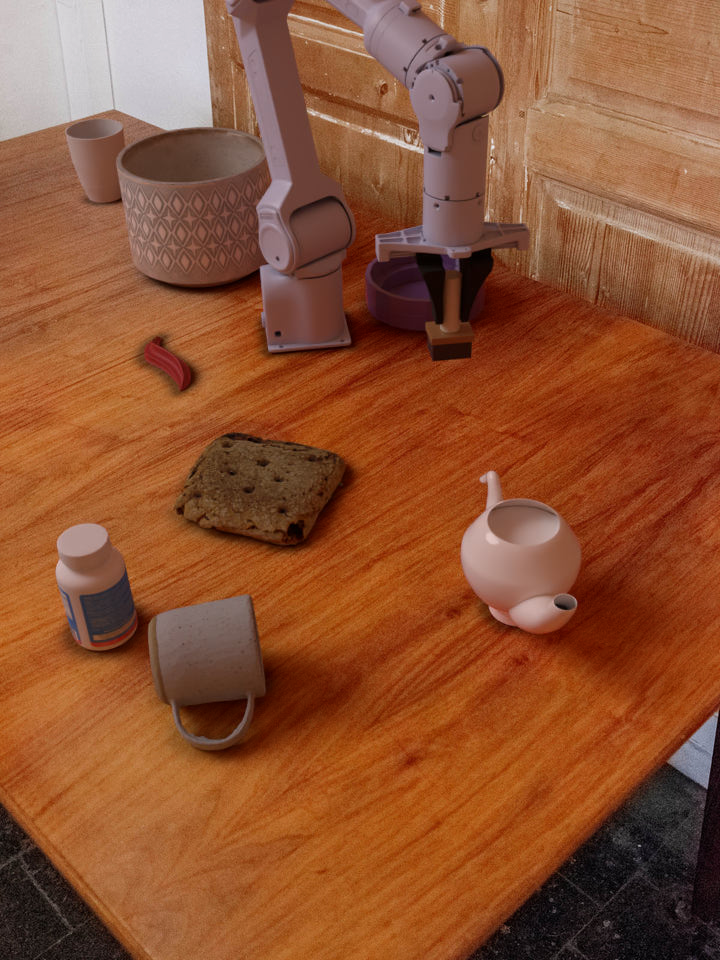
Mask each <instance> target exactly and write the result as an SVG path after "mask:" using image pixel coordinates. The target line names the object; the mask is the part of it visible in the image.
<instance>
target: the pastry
mask: <svg viewBox="0 0 720 960" xmlns="http://www.w3.org/2000/svg"><path fill="white" fill-rule="evenodd" d="M345 471H346V462H345V461H344V460H343V459H342V458H341V456H340V455H339V454H338V453H336V452H332V451H331V450H329V449H323V448H318V447H316V446H311V445H308V444H303V443H299V442H294V441H289V440H287V441H286V440H277V439H270V438H266V439H264V438H263V437H259V436H256V435H255V436H254V435H252V434H250V433H245V432H235V431H233V432H227V433H225V434H222V435H221V436H219V437H217V438H215V439H214V440H213V441H211V442H210V443H209V444H208V445H207V446H205V448H204V449H203V450H202V452H201V453H200V455H199V456H198V458H197V459H196V460H195V462H194V463H193V465H192V467H191V468H190V469H189V472H188V474H187V475H186V477H185V478H186V479H185V480H184V483H183V488H184V490H183V489H180V492H181V494H180V495H179V496H178V497H177V498H176V499H175V503H174V507H173V510H175V512H176V513H175V514H176V515H178V516H183V517H184V519H187V520H189V521H193V522H195V523H197V524H198V525H199V526H200V527H201V528H206V529H212V528H213V527H215V529H216V530H219V531H223V532H225V533H232V534H235V535H242V536H245V537H250V538H254V539H255V540H260V541H262V542H265V543H270V544H274V545H279V546H289V545H294V546H296V545H297V544H298V543H301V542H303V541H305V540H306V539H307V538H308V536H309V534H310V533H311V530H312V528H313V527H314V525H315V524H316V521H317V518H318V517H319V514H320V513H321V511H322V510H323V509H324V508H325V506H326V505H327V504H328V501H329V500H330V499H332V495H333V493H334V492H335V491H336V489H337V487H340V486H344V484H343V482H341V481H342V478H343V475H344V473H345Z"/></svg>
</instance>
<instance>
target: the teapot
mask: <svg viewBox="0 0 720 960" xmlns="http://www.w3.org/2000/svg"><path fill="white" fill-rule="evenodd" d="M479 482H480V483H482V484H485V485H487V497H486V504H485V510H483V511H482V513H481V514H480V515H478V516H477V517H476V519H474V521H473V522H471V524H470V525H468V527H467V528H466V530H465V531H464V534H463V536H462V539H461V543H460V563H461V569H462V572H463V574H464V575H463V576H464V577H465V580H466V582H467V583H468V585H469V586H470V588H471V590H472V591H473V593H475V595H476V596H477V597H478V598H479V600H481V601H482V602H483V603H484V604H486V605H487V606H488V609H489V612H490V614H491V615H492V616H493V617H494V618H495V620H496V621H499V622H500V623H502V624H504V625H507V626H512V627H518V628H519V629H520V630H522V631H525V632H527V633H530V634H535V635H543V634H549V633H553V632H555V631H558V630H560V629H561V628H563V627H564V626H565V625H567V623H568V622H569V621H570V620H571V619H572V617H573V615H574V614H575V613H576V611H577V609H578V601H577V599H576V598H575V596H573V595H571V594H569V591H570V590H571V589H572V588H573V586H574V585H575V583H576V580H577V578H578V577H579V573H580V570H581V566H582V565H581V564H582V555H583V554H582V546H581V543H580V541H579V538H578V536H577V534H576V533H575V531H574V530H573V529H572V527H571V525H570V524H569V522H567V520H566V518H564V516H563V515H562V514H561V513H560V512H559V511H557V510H556V509H555V508H554V507H552V506H550V505H549V504H546V503H544V502H542V501H539V500H535V499H531V498H522V497H521V498H509V499H504V495H503V490H502V482H501V478H500V475H499V473H498V472H497V471H495V470H489V471H487V472H486V473H484V474H483V475H481V476H480V477H479Z"/></svg>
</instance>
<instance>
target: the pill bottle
mask: <svg viewBox="0 0 720 960" xmlns="http://www.w3.org/2000/svg"><path fill="white" fill-rule="evenodd" d="M56 548H57V553H58V557H59V559H58V562H57V564H56V565H55V566H56V567H55V579H56V582H57V583H56V584H57V586H58V590H59V594H60V597H61V600H62V604H63V607H64V611H65V615H66V618H67V622H68V626H69V628H70V632H71V634H72V635H71V636H72V637H73V639H74V640H75V642H76V643H77V644H78V645H79V646H81V647H82V648H84V649H87V650H90V651H97V652H100V651H101V652H102V651H109V650H111V649H115V648H117V647H119V646H121V645H123V644H125V643H126V642H127V641H128V640H130V639H131V638H132V637H133V635H134V634H135V632H136V630H137V628H138V620H139V619H138V615H137V609H136V605H135V602H134V598H133V593H132V588H131V583H130V579H129V574H128V570H127V566H126V562H125V559H124V556H123V553H122V552H121V551H120V550H119V549H117V548H116V547H115V546H114V545H112V541H111V538H110V535H109V532H108V530H107V529H106V528H105V527H104V526H102V525H101V524H97V523H93V522H89V523H79V524H75V525H73V526H71V527H69V528H67V529H66V530H64V531H63V532H62V533H61V534H60V535H59V536H58V538H57V540H56Z"/></svg>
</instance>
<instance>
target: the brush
mask: <svg viewBox="0 0 720 960" xmlns="http://www.w3.org/2000/svg"><path fill="white" fill-rule="evenodd" d="M461 291H462V273H461V272H459V271H457V270H447V271H446V275H445V281H444V290H443V314H444V318H443V324H440V325H436V324H435V321H433V322H426V323H425V329H426V331H425V332H426V334H427V338H426V341H427V342H426V345H427V346H426V347H427V349H428V352H429V355H430V358H431V361H432V362H441V361H442V362H443V361H452V360H453V361H454V360H463V359H472V355H473V354H472V350H473V343H474V342H475V340H476V338H475V337H476V334H475V332H474V329H473V327H472V325H471V322H470V321H468V322H463V323H462V322H461V320H460V314H461Z"/></svg>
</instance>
